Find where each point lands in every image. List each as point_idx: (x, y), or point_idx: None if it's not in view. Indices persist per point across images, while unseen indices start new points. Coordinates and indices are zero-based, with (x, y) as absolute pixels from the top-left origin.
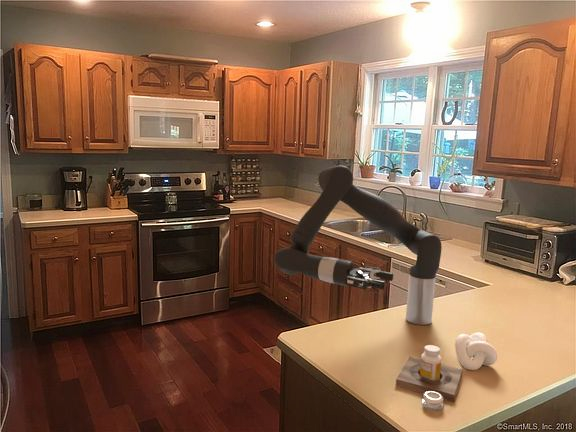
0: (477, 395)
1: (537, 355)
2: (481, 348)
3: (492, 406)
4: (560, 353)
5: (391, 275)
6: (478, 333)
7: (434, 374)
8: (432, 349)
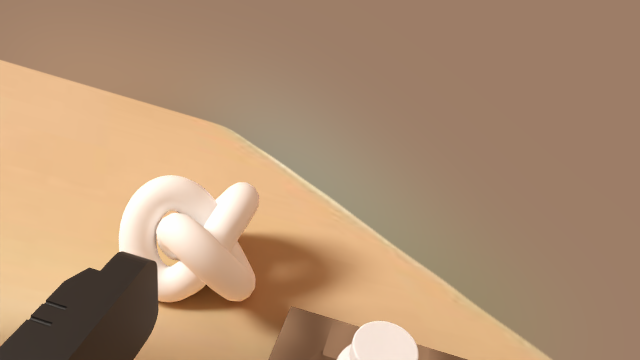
0: (395, 308)
1: (131, 140)
2: (254, 210)
3: (437, 289)
4: (120, 107)
5: (149, 281)
6: (165, 184)
7: None
8: (400, 347)
